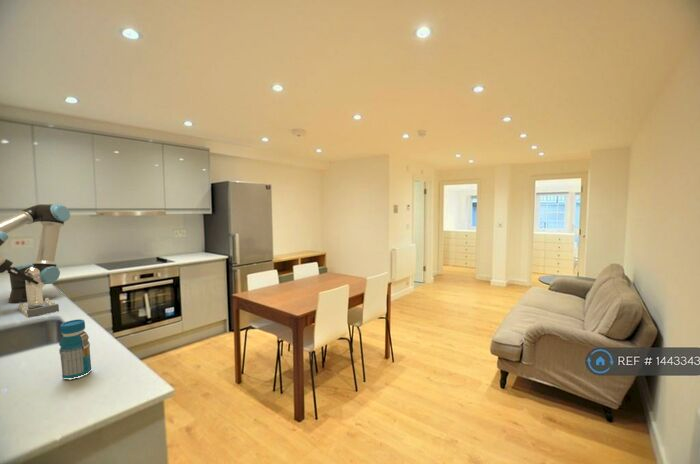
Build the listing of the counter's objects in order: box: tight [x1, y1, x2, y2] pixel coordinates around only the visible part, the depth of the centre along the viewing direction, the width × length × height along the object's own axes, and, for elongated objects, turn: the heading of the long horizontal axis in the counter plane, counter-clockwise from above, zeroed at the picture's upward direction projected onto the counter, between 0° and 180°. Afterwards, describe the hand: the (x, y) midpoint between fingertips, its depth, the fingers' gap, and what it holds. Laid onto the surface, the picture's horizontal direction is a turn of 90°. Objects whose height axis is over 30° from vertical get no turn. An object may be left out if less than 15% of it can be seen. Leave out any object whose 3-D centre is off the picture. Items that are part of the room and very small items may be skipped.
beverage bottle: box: [58, 318, 92, 379], centre depth 116 cm, size 8×8×20 cm
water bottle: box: [24, 264, 44, 307], centre depth 193 cm, size 7×7×25 cm
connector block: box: [27, 303, 60, 318], centre depth 182 cm, size 2×13×4 cm, turn 144°
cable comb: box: [17, 297, 56, 318], centre depth 190 cm, size 26×13×4 cm, turn 54°
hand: (41, 285), depth 196 cm, fingers closed on water bottle, 7 cm apart
